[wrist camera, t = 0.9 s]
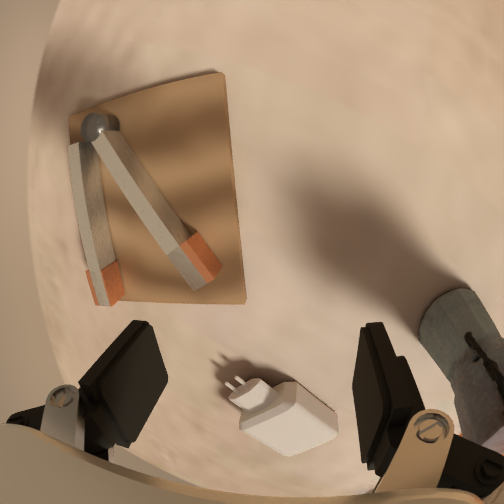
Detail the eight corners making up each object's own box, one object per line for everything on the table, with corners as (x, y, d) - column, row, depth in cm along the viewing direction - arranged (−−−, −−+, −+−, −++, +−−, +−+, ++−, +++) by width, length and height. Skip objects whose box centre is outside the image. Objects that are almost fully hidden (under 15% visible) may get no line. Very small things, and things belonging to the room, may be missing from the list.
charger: (261, 348, 32) (337, 410, 34) (210, 380, 35) (285, 434, 37) (256, 376, 27) (339, 437, 29) (200, 406, 30) (283, 459, 32)
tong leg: (95, 128, 24) (76, 127, 22) (113, 108, 24) (95, 105, 21) (199, 280, 28) (189, 294, 25) (222, 266, 27) (214, 279, 24)
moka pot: (441, 373, 29) (489, 495, 11) (382, 309, 28) (444, 478, 9) (494, 326, 26) (568, 432, 7) (447, 246, 24) (575, 367, 6)
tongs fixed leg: (82, 146, 25) (63, 147, 22) (98, 141, 25) (79, 141, 22) (109, 293, 31) (95, 305, 28) (125, 294, 30) (111, 306, 27)
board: (75, 117, 26) (69, 116, 25) (224, 75, 23) (221, 72, 21) (105, 294, 33) (100, 299, 31) (246, 298, 30) (244, 304, 28)
